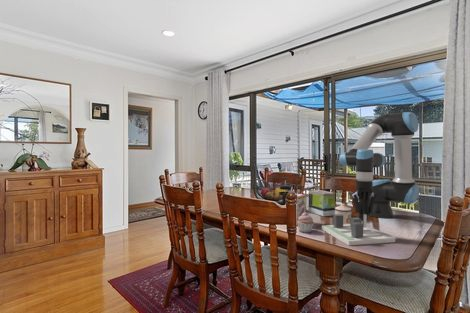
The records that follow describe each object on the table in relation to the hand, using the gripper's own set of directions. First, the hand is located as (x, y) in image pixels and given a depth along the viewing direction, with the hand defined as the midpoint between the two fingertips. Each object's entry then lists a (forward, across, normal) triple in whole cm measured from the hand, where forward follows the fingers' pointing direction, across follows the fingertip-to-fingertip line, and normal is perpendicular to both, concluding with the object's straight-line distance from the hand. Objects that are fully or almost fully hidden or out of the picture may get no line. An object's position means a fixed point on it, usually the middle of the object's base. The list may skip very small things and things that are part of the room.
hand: (363, 226), depth 135 cm
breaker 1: (+2, +9, -8) cm, 12 cm away
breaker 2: (+2, +9, +8) cm, 12 cm away
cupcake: (+4, +26, -11) cm, 29 cm away
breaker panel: (+4, +4, 0) cm, 6 cm away
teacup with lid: (+4, -2, -20) cm, 21 cm away
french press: (+4, +19, -58) cm, 61 cm away
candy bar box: (+4, +24, -25) cm, 35 cm away
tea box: (+4, -1, -44) cm, 44 cm away
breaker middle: (+2, +4, 0) cm, 4 cm away
